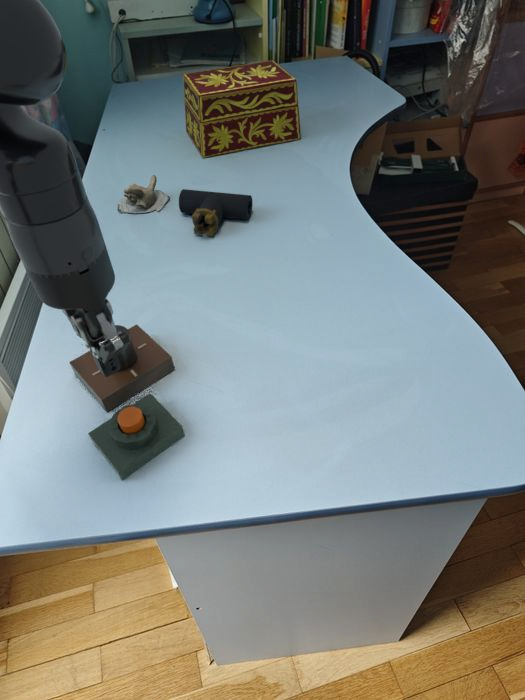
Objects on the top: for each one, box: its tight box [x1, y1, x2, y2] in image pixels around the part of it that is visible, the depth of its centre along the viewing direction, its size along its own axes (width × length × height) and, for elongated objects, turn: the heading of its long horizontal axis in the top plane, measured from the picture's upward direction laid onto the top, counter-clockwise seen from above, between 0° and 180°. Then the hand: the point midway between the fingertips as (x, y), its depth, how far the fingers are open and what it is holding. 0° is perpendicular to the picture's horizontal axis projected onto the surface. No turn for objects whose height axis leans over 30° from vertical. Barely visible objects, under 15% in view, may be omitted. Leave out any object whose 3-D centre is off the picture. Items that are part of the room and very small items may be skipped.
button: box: [118, 407, 145, 434], centre depth 64 cm, size 3×3×2 cm
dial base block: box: [69, 324, 176, 413], centre depth 74 cm, size 12×10×3 cm
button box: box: [87, 392, 186, 481], centre depth 66 cm, size 10×8×4 cm
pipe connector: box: [178, 188, 254, 237], centre depth 102 cm, size 12×5×15 cm
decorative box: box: [182, 60, 302, 159], centre depth 128 cm, size 28×19×15 cm
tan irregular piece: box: [117, 174, 170, 214], centre depth 108 cm, size 10×12×6 cm
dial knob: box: [115, 324, 137, 372], centre depth 72 cm, size 5×5×5 cm
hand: (110, 370), depth 58 cm, fingers closed
